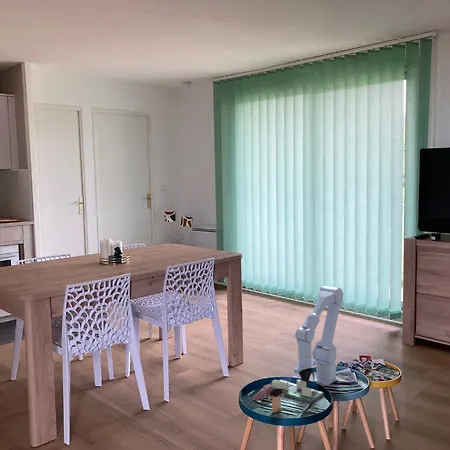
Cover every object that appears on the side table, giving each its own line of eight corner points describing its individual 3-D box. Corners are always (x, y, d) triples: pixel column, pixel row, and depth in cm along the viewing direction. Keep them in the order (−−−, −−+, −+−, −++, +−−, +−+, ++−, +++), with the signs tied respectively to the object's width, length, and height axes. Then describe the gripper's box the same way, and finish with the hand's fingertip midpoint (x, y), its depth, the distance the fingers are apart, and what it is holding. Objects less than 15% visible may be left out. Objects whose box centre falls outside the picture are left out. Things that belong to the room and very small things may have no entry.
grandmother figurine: (278, 406, 211) (278, 376, 210) (285, 409, 208) (285, 378, 207) (265, 411, 206) (265, 381, 205) (272, 414, 203) (272, 384, 202)
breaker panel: (287, 385, 233) (287, 381, 233) (323, 395, 220) (323, 392, 220) (273, 392, 225) (273, 389, 225) (309, 404, 212) (309, 400, 212)
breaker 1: (281, 386, 227) (280, 379, 226) (288, 388, 224) (288, 381, 224) (278, 387, 226) (278, 380, 225) (286, 390, 223) (286, 382, 223)
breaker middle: (298, 386, 226) (298, 379, 226) (306, 388, 224) (306, 381, 223) (296, 387, 225) (296, 380, 225) (304, 389, 222) (304, 382, 222)
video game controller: (259, 405, 216) (265, 393, 213) (251, 399, 218) (257, 386, 216) (271, 397, 224) (277, 385, 221) (263, 391, 226) (269, 378, 223)
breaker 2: (303, 393, 219) (303, 386, 218) (311, 396, 216) (311, 388, 216) (301, 394, 217) (301, 387, 217) (309, 397, 215) (309, 389, 214)
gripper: (306, 348, 233) (306, 377, 235) (287, 357, 223) (288, 387, 224) (319, 351, 229) (319, 381, 230) (301, 360, 218) (301, 391, 219)
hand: (305, 384), depth 227 cm, fingers closed
